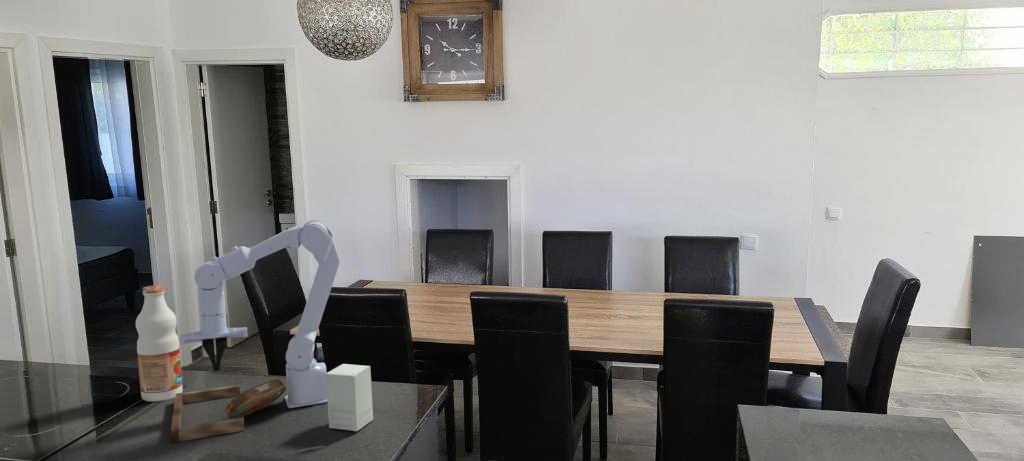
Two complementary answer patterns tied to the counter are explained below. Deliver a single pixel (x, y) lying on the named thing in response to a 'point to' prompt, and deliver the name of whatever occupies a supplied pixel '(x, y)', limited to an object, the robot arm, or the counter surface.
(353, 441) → the counter surface
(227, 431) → the wooden u-shaped frame
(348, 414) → the supplement box
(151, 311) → the fruit juice
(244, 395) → the tin
